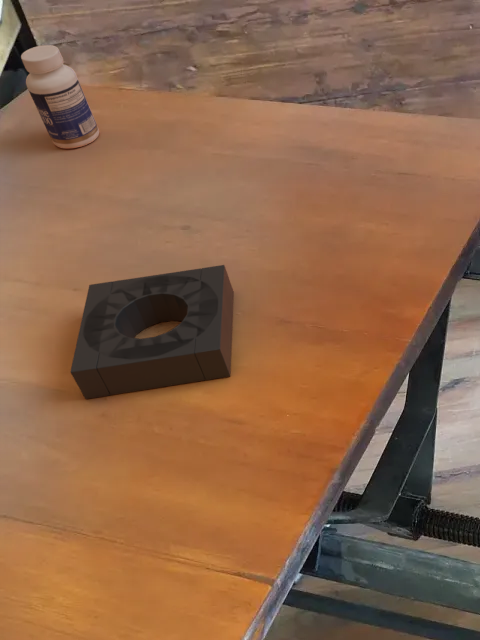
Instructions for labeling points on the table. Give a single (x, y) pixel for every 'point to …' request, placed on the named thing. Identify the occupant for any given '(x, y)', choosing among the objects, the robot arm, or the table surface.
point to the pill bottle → (59, 98)
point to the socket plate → (163, 350)
